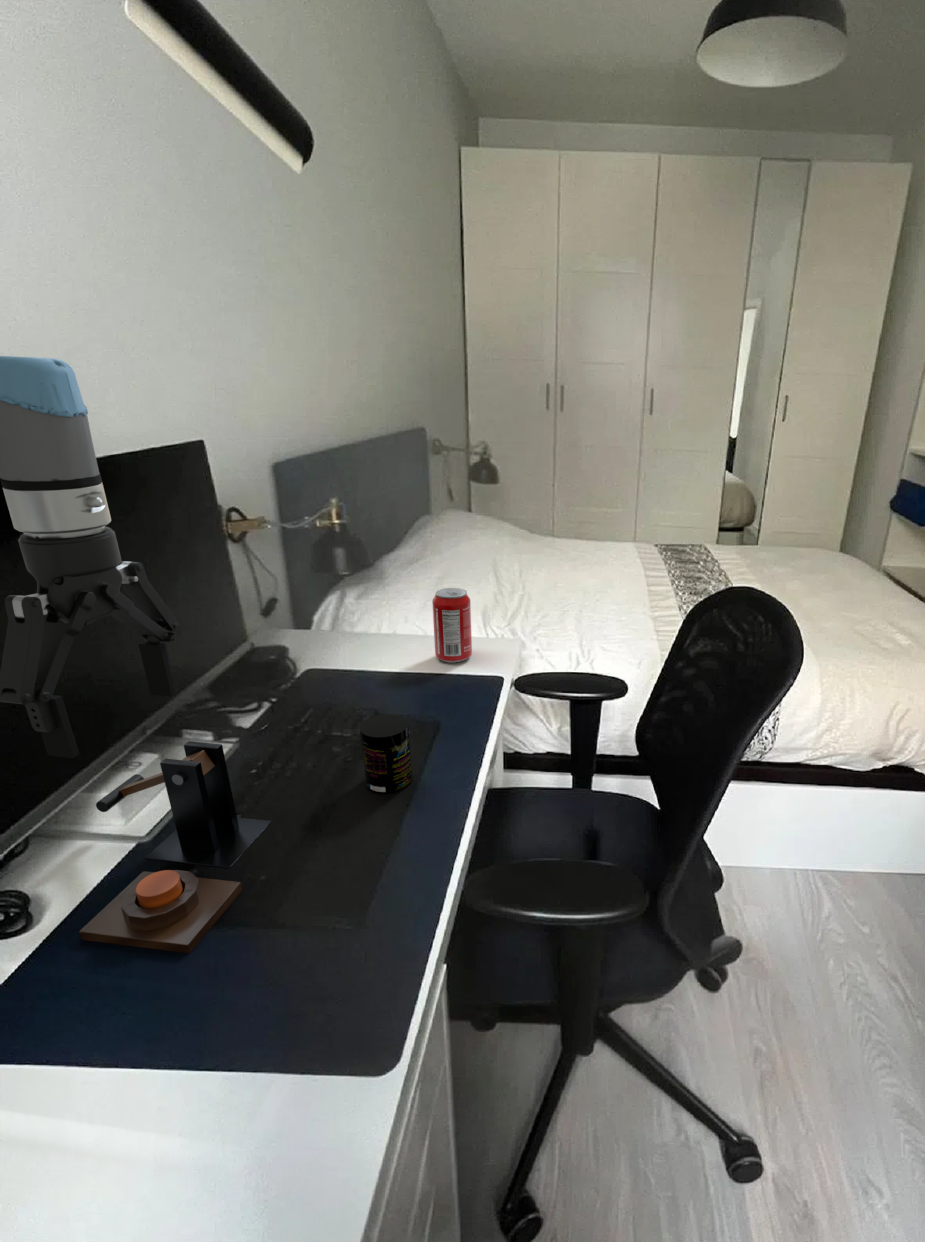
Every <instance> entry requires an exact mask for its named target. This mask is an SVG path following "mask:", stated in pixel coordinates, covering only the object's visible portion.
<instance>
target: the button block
mask: <svg viewBox="0 0 925 1242" xmlns="http://www.w3.org/2000/svg"><path fill="white" fill-rule="evenodd" d="M171 870H172V871H175V872H177V873H178V874H179V876H180V880H181V884H182V888H183V890H182V893H181V895H180V896H179V897H178V898H177V899H176V900H174V901H172V902H171V903H169V904H167V905H165V906H162V907H158V908H154V909H145V908H143V907H141V906H140V904H139V901H138V898H137V894H136V887H137V885H138V883H139V882H140V881H141V880H142V879H144V878H145V877H147V876H149V875H151V874H153V873H155V872H156V871H145V870H144V871H142V872H141V873H140V874H139V875H138V876H136V878H135V879H133V880H132V881H131V882H130V883H129V884H128V885H127V886H126V887H124V889H123V890H122V891H120V892H119V894H117V895H116V896H115V897H114V898H113V899H112V900H111V901H110V902H109V903H107V905H105V907H104V908H102V909H101V910H100V911H99V912H98V913H97V914H96V915H95V916H94V917H93V918H92V919H90V921H88V922H87V923H86V925H84V926H83V927H82V928H81V929H80V930H79V931H78V933H79V936H80V939H81V941H88V942H95V943H102V944H103V943H104V944H113V945H118V946H119V945H120V946H127V947H128V946H129V947H135V948H144V949H150V950H159V951H167V952H168V951H169V952H175V953H184V954H191V953H192V952H193V950H194V949H195V948H196V946H198V944H199V943H200V942H201V941H202V940H203V938H204V937H205V936H206V935H207V934H208V932H209V931H210V930H211V929H212V927H213V926H214V925H215V924H216V923H217V921H219V919H220V918H221V916H222V915H223V914H224V913H225V912H226V911H227V909H228V908H229V907H230V906H231V904H233V902H234V901H235V900H236V898H237V897H238V896H239V895H240V894H241V893H242V891H243V887H242V882H241V881H232V880H225V879H224V880H223V879H217V878H216V879H214V878H207V877H206V878H205V877H198V876H195V874H193V873H192V872H191V871H189V870H179V869H171Z"/></svg>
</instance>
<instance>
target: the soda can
mask: <svg viewBox="0 0 925 1242" xmlns="http://www.w3.org/2000/svg"><path fill="white" fill-rule="evenodd" d="M434 593H435V594H434V597H433V598H432V604H431V605H432V621H433V623H432V624H433V638H434V642H433V643H434V654H435V658H437V659H438V660H440V661H442V662H444V663H448V664H456V662H457V663H461V661H462V662H464V661H466V660H468V659H469V658H471V656H472V654H473V643H472V642H473V639H472V610H471V609H472V607H471V598H470V597H469V595H468V594H467V593H468V592H467V590H465V589H463V588H459V587H445V588H444V587H443V588H440V589H438V590H436V591H435V592H434Z"/></svg>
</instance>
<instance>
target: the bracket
mask: <svg viewBox="0 0 925 1242" xmlns="http://www.w3.org/2000/svg"><path fill="white" fill-rule="evenodd" d="M223 746H224V745H223V744H221V743H212V742H202V741H192V740H191V741H190V740H188V741H187V742H185V744H183V749H184V753H185V754H184V755H185V757H187V756H189V755H192V754H195V753H197V752H200V751H203V750H204V751H205V752H206V754H207V755H208V757H209V758H210V760H211V761H212V763H213V764H214V765H215V766H214V767H213V768H212V769H211V770H210V771H209V772H207V773H206V774H205V775H203V771H202V766H201V762H196V761H186V760H183V759H174V758H165V759H163V760H162V761H161V762H159V765H160V769H161V773H163V777H164V781H165V782H164V785H165V789H166V792H167V798H168V801H169V805H170V808H171V812H172V818H173V821H174V825H175V830H174V831H173V832H172V833H171V834H169V835H168V836H167V837H166V838H164V840H163V841H161V843H159V844H158V845H157V846H156V847H155V848H154V849H153V850H152V851H151V852H149V854H147V855H146V856H145V857H144V859H145V860H152V861H159V862H169V863H179V864H185V865H187V864H188V865H195V866H203V867H213V868H222V869H231V868H232V867H233V866H234V865H236V863H237V862H238V861H239V860H240V858H241V857H242V856H243V855H244V854H245V853H246V852H247V850H248V849H249V848H250V847H251V846H252V845H253V844H254V842H255V841H256V840H257V839H258V838H259V837H260V836H261V835H262V834H263V833H264V831H265V830H266V829H267V828H268V827H269V826H270V825H271V823H272V820H265V819H256V818H245V817H238V816H237V811H236V806H235V802H234V797H233V791H232V786H231V782H230V776H229V771H228V766H227V762H226V757H225V752H224V747H223Z"/></svg>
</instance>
